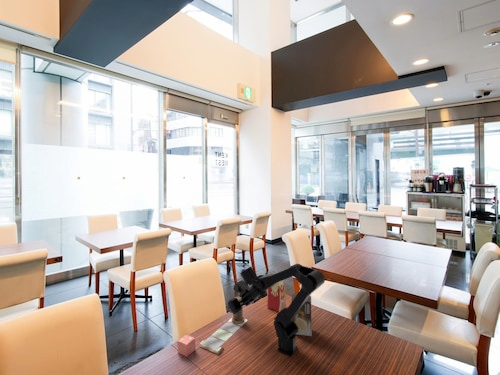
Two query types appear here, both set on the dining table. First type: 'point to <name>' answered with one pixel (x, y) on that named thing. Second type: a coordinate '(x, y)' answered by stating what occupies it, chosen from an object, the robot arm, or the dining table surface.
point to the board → (220, 337)
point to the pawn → (238, 315)
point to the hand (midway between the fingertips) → (236, 307)
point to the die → (186, 345)
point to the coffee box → (304, 318)
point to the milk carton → (277, 297)
